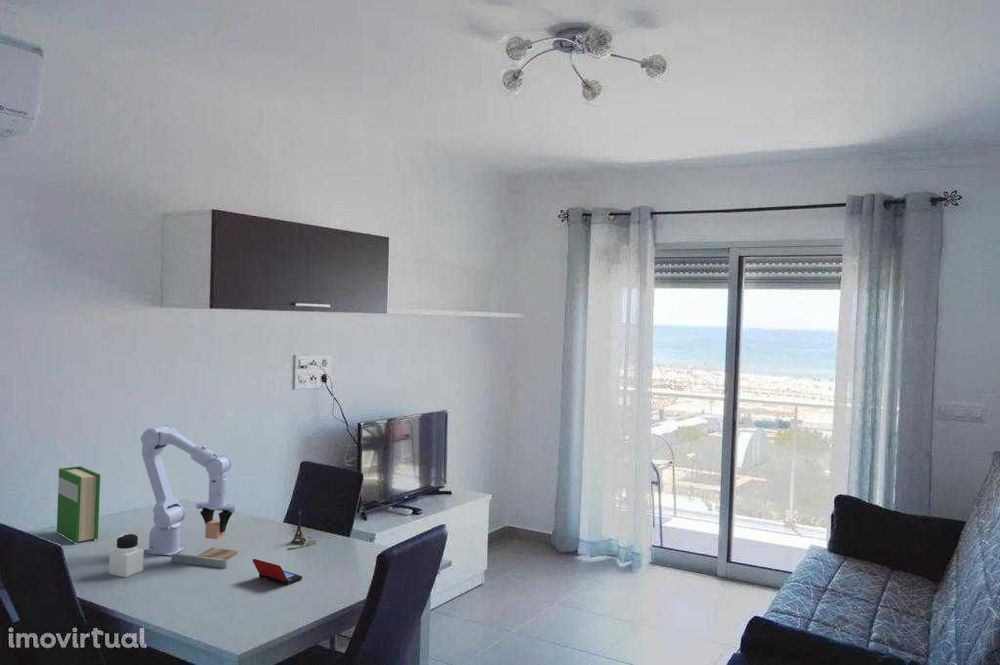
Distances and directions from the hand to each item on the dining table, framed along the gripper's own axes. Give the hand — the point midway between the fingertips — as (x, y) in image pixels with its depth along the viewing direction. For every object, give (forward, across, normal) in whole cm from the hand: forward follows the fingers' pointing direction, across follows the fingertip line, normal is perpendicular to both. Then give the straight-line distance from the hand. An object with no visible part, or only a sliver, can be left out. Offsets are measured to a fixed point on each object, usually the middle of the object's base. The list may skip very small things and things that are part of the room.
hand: (215, 531), depth 258 cm
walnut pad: (+9, 0, +1) cm, 9 cm away
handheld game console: (+10, +30, -12) cm, 34 cm away
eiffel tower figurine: (+10, +19, +25) cm, 33 cm away
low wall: (+9, -1, -8) cm, 12 cm away
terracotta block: (+2, 0, 0) cm, 2 cm away
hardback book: (+10, -58, +4) cm, 59 cm away
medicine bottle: (+10, -18, -22) cm, 30 cm away
